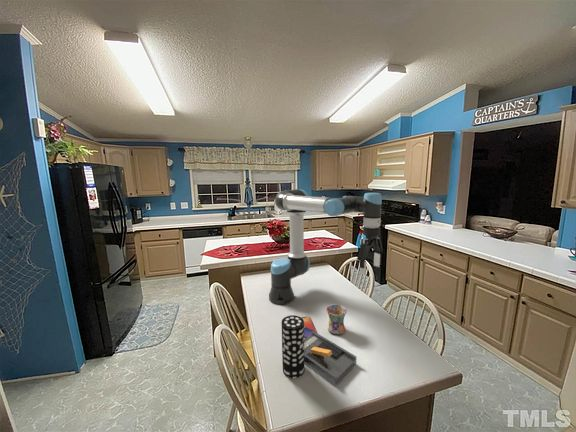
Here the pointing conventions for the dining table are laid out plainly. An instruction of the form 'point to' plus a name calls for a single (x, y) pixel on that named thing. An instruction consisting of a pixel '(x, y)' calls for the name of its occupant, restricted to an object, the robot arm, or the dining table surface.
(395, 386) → the dining table surface
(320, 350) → the orange rectangular bar
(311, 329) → the smartphone
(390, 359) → the dining table surface
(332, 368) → the dark grey tray
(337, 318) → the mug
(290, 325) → the spotted tube
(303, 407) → the dining table surface
